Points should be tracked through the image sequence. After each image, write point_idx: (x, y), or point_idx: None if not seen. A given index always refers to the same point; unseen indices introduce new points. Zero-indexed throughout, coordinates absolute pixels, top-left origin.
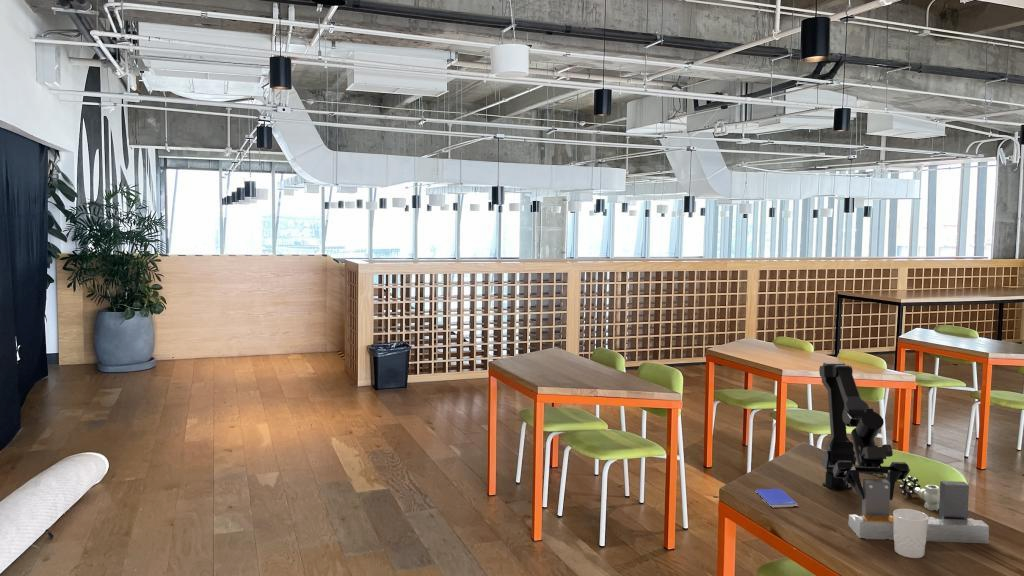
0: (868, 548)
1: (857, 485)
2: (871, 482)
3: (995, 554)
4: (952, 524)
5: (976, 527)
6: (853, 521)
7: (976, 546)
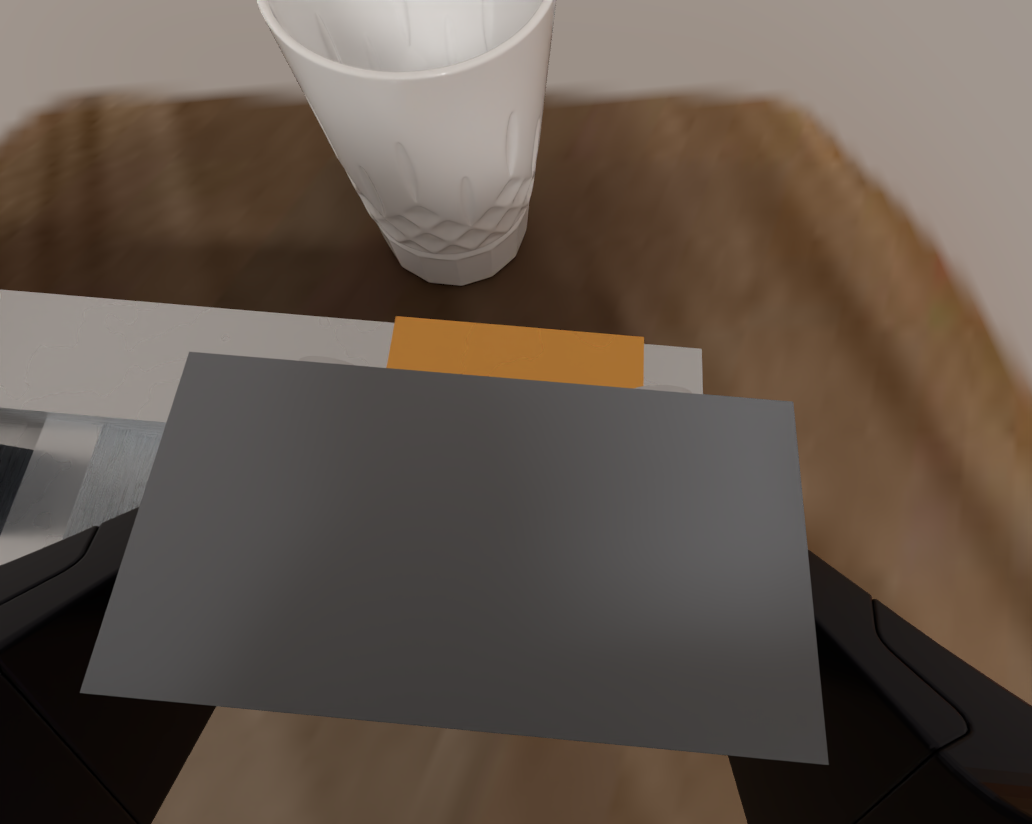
0: (649, 270)
1: (877, 603)
2: (662, 416)
3: (23, 208)
4: (5, 299)
5: None
6: None
7: None
